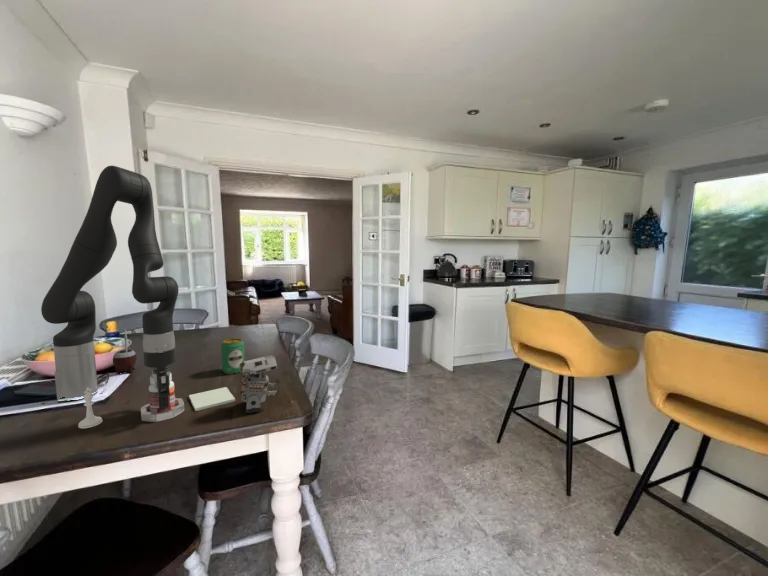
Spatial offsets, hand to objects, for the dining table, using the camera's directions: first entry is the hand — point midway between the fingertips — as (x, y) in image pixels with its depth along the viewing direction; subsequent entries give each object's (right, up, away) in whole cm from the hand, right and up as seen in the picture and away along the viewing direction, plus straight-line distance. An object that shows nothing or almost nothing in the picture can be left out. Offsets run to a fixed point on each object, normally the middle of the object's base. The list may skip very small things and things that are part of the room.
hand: (162, 403), depth 96 cm
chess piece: (-15, -3, -6) cm, 17 cm away
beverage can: (+5, +1, +34) cm, 34 cm away
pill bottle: (0, -3, 0) cm, 3 cm away
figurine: (+26, -3, +6) cm, 27 cm away
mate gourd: (-34, +1, +30) cm, 46 cm away
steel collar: (0, -3, 0) cm, 3 cm away
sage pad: (+9, -2, +9) cm, 13 cm away
